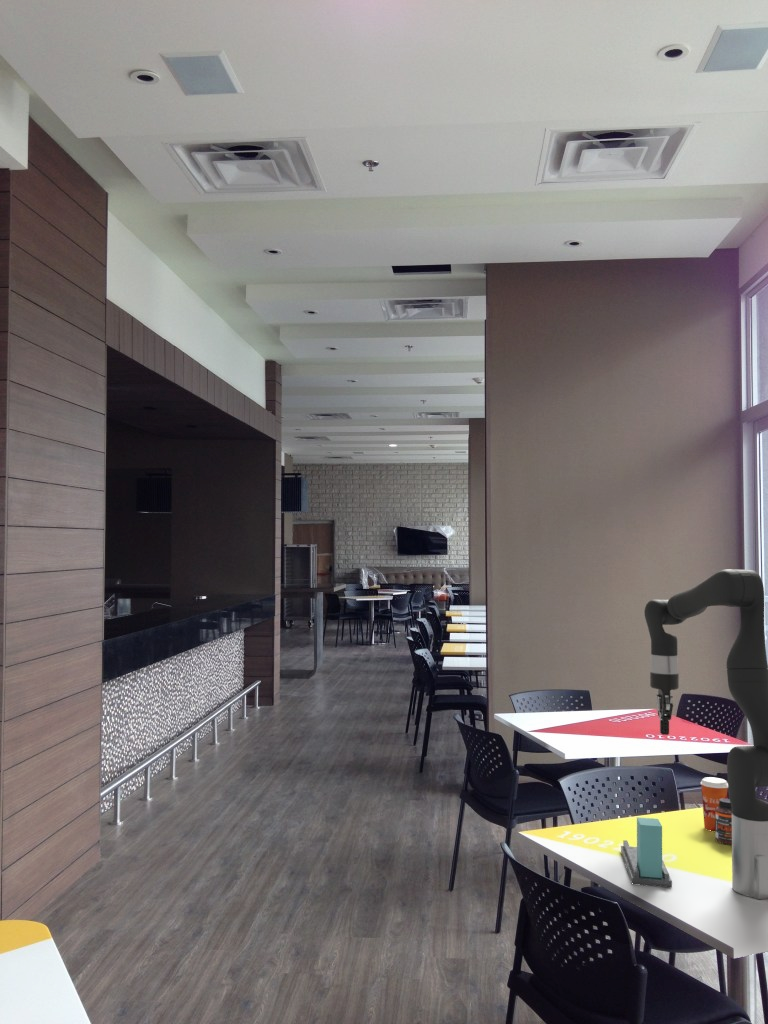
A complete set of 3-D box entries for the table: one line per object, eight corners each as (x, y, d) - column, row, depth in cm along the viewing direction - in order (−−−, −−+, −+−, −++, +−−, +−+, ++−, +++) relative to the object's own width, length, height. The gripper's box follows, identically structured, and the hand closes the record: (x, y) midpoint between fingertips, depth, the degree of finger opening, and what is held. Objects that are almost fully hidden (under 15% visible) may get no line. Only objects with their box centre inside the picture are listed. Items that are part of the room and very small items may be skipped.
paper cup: (697, 829, 237) (697, 780, 238) (704, 823, 243) (704, 775, 244) (726, 835, 232) (725, 785, 233) (732, 828, 239) (731, 779, 240)
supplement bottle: (715, 843, 225) (715, 801, 226) (714, 837, 231) (714, 796, 231) (739, 846, 223) (738, 804, 224) (738, 840, 229) (737, 798, 229)
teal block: (636, 867, 201) (636, 817, 202) (658, 869, 200) (658, 818, 201) (640, 876, 195) (640, 824, 196) (662, 878, 195) (662, 826, 195)
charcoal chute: (620, 851, 217) (620, 840, 217) (656, 854, 216) (656, 842, 216) (632, 884, 195) (632, 871, 195) (671, 887, 193) (671, 874, 193)
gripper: (682, 674, 223) (683, 739, 222) (674, 669, 236) (674, 730, 235) (654, 673, 224) (654, 738, 223) (646, 667, 237) (647, 728, 236)
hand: (664, 734), depth 229 cm, fingers closed
